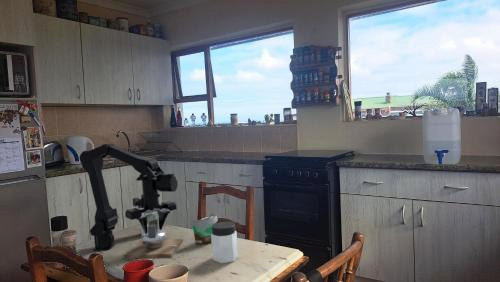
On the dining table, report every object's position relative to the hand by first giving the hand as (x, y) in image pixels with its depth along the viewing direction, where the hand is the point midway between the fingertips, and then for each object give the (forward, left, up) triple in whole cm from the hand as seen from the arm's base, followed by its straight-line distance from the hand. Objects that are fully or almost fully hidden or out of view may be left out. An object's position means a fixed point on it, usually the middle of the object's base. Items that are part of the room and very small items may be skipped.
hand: (153, 231), depth 140 cm
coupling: (0, 0, -3) cm, 4 cm away
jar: (+29, -11, -7) cm, 32 cm away
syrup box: (-9, +20, -7) cm, 23 cm away
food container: (+20, +7, -7) cm, 22 cm away
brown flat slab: (0, 0, -7) cm, 7 cm away
